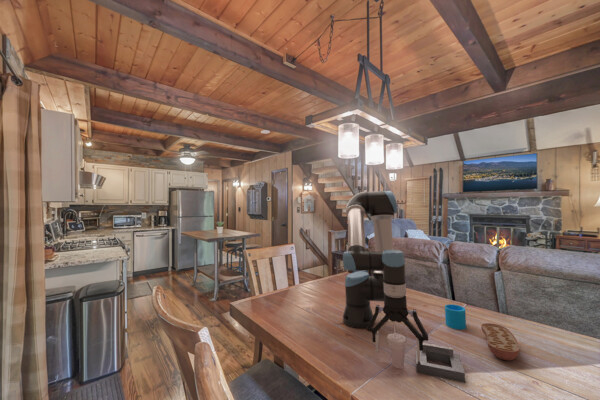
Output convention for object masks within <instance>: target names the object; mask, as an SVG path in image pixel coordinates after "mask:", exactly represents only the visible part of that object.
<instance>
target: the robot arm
mask: <svg viewBox="0 0 600 400" xmlns="http://www.w3.org/2000/svg"><path fill="white" fill-rule="evenodd" d="M397 206H398V205H397V199H396V196H395V194H394V192H393V191H390V190H377V191H361V192H358V193H356V194H355V195H353V196H352V197H351V198H350V200H349V201H348V203H347V204H346V207H345V214H346V216H347V251H344V252H342V265H343V269H344V270H346V271H353V272H351V273H349V274H347V275H346V276H345V278H344V279H345V280H344V282H345V283H344V286H345V289H344V290H345V308H344V311H343V314H342V322H343V323H344V324H345V325H346V326H348V327H350V326H351V328H354V327H355V328H356V329H366V331H367V332H370V333H371V334H372V335H371V337H372V343H375V354H379V352H380V337H379V330H380V329H381V328H382V327H383V326H384V325H385V324H386V323H387V322H388V321H390V322H393V323H394V322H397V323H403V324H404V325H405V326H406V327H407V328H408V329H409V330H410V332H411V333H412V334H413V335H414V336H415V338H416V347H417V361H419V362H420V351H423V343H424V341H427V342H428V341H429V334H428V333H427V331H426V329H425V327H424V325H423V324H422V322H421V319H420V318H419V316H418V311H417V309H416V308H413V309H412V310H411V309H408V308H407V305H408V304H407V296H406V295H407V282H406V264H405V263H406V259H405V253H404V252H403V251H402V250H399V249H394V241H393V225H392V220H393V219H394V217H395V214H397V213H398V207H397ZM365 215H370V219H371V220H372V221H373V232H374V233H373V234H374V250H375V251H367V246H366V231H365ZM367 271H371V272H372V275H370V273H369V272H367ZM371 302H383V303H384V305H383V306H380V305H379V304H376V305H375V307H374V313H373V310H372V308H371ZM382 312H383V313H384V314H385V315H384V316H383V318H381V319H380V320H379V321H378V322H377V324H375V322H376V320H377V318H378V315H379V314H380V313H382ZM408 316H410V317H411V318H413V320H414V322H415V325H416V326H417V328H418V330H417V328H416V327H415V326H414V325H413V323H412V322H411V321H410V320H409V318H408ZM374 324H375V326H374ZM373 326H374V327H373ZM419 331H420V332H419Z"/></svg>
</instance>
